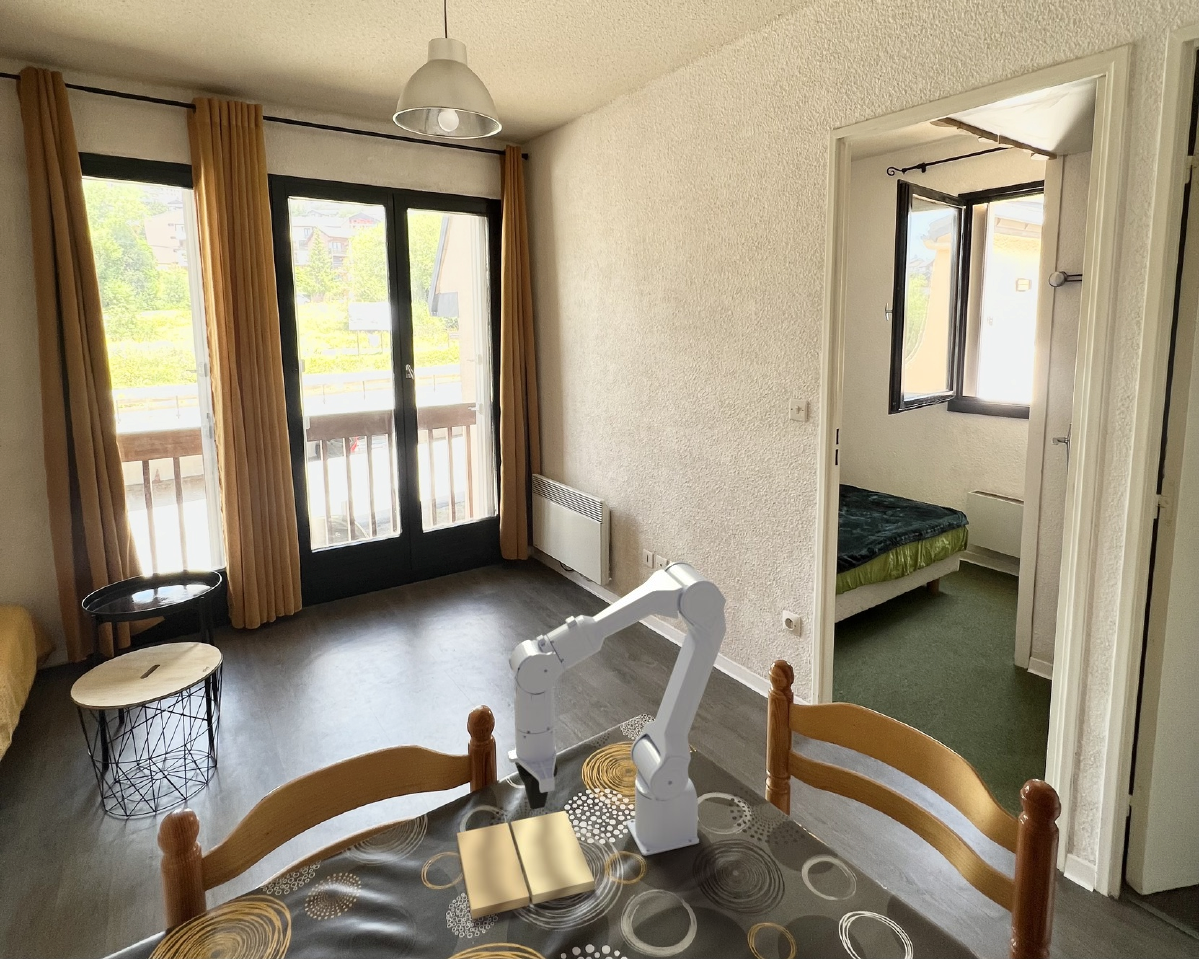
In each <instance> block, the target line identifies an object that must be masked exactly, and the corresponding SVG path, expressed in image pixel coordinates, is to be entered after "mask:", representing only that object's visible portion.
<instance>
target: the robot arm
mask: <svg viewBox="0 0 1199 959" xmlns="http://www.w3.org/2000/svg"><path fill="white" fill-rule="evenodd" d="M726 604H727V599H726V598H725V596H724V595H723V593H722V591H721V590H720V588H719V587H718V586H717V584H715V583H714V582H712V581H710V580H709V579H708V578H706V577H705V576H704V575H703V574H701V573H700V572H699V571H697V570H696V569H695V568H694V567H693V566H692V565H691V564H690V563H688V562H685V561H679V560H678V561H674V562H671V563H669V564H668V565H666V566H665V567H664V568H663V569H662V568H661V569H659V570H657V571H655V572H654V573H652V575H651V576H650V577H649V578H648V579H647V581H646V582H644V583H643V584H641V585H640V586H638V587H637V588H635V589H634V590H632V591H630V592H629V593H628V594H626V595H625V596H623V597H622V598H620V599H618V600H617V601H615V602H614V603H612V604H611V605H609V606H607V607H606V608H605V609H603V610H602V611H600V612H598V613H597V614H595V615H594V616H589V615H583V614H581V615H578V616H576V617H574V616H573V615H571V616H570V617H568V618H566V619H565V623H564V624H563V625H560V626H558V627H557V628H555V629H553V630H552V631H550V632H548V633H546V634H545V635H543V634H541V635H538V636H537V637H536V638H535V639H532V640H530V639H527V640H524V641H522V642H520V643H519V644H518V645H516V646H515V647H514V650H512V652H511V655H510V657H509V658H508V665H509V667H510V669H511V670H512V672H513V673H514V685H513V686H514V689H513V690H514V695H513V705H514V706H513V707H514V727H515V728H514V730H515V731H514V734H515V735H514V736H515V747H514V748H515V749H514V750H510V751H507V759H508V761H509V763H512V764H513V763H514V765H515V767H516V769H517V770H516V771H517V773H518V775H519V777H520V779H521V781H522V783H523V784H524V790H525V793H526V798H527V801H528V804H529V807H530V809H531V810H537V809H541V808H545V807H546V804H547V798H548V796H549V795H548V794H549V792H551V791H555V788H556V784H555V783H556V782H555V781H556V780H555V777H556V776H557V775H558V765H557V764H556V760H557V755H558V754H557V753H558V752H557V746H556V732H555V730H556V729H555V728H556V726H555V725H556V724H555V723H556V722H555V693H554V686H555V685H556V683H557V682H558V679H559V677H560V676H561V675H562V674H564V672H565V671H566V670H567V671H568V669H570V668H572V667H574V666H575V665H577V664H579V663H580V662H582V661H584V660H586V659H587V658H589V657H591V656H593V655H594V654H596V653H597V652H599V651H601V650H602V646H603V643H604V641H605V639H606V638H608V637H609V636H612V635H614V634H616V633H617V632H620V631H622V630H624V629H626V628H628V627H629V626H632V625H634V624H636V623H637V622H640V621H642V620H643V619H646V618H648V617H650V616H652V615H657V616H662V617H666V618H670V619H675V620H677V619H679V615H680V617H681V618H682V620H683V622H684V624H685V626H686V627H687V630H686V633H685V636H684V638H683V641H682V645H681V647H680V650H679V652H678V655H677V659H676V661H675V663H674V666H673V669H672V672H671V675H670V677H669V680H668V683H667V686H666V690H665V692H664V694H663V697H662V701H661V703H660V706H659V708H658V711H657V714H656V716H655V719H654V720H653V721H649V722H647V723H645V724H644V726H643V729H642V731H641V733H640V734H639V735H638V736H637V738H636V739H635V740H634V742H632V745H631V747H630V752H629V753H630V754H629V755H630V759H631V761H632V762H633V764H634V765H635V766H636V767H637V770H636V777H635V785H634V788H635V790H634V792H635V793H634V810H635V811H634V818H633V819H628V820H626V822H625V824H626V826H627V829H628V830H629V832H630V834H631V836H632V838H633V840H634V842H635V843H636V845H637V847H638V849H639V851H640V853H641V855H643V856H650V855H654V854H660V853H663V852H666V851H671V850H675V849H680V848H683V847H687V846H693V845H696V844H699V843H700V838H699V837H698V822H699V821H698V818H699V801H698V796H697V791H696V788H695V786H694V783H693V781H692V780H691V778H690V777H689V766H690V763H691V760H692V759H691V758H692V756H691V750H690V745H689V738H688V737H689V733H690V730H691V728H692V724H693V722H694V719H695V716H696V714H697V711H698V708H699V706H700V703H701V700H702V697H703V695H704V692H705V690H706V688H707V684H708V681H709V679H710V676H711V673H712V672H713V671H712V670H713V668H714V665H715V663H716V660H717V657H718V654H719V652H720V648H721V646H722V644H723V640H724V639H725V636H726V631H727V626H726V625H727V624H726V616H725V610H724V609H725V606H726Z"/></svg>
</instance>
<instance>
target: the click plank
mask: <svg viewBox="0 0 1199 959" xmlns="http://www.w3.org/2000/svg"><path fill="white" fill-rule="evenodd" d="M572 826H573V825H572V824H571V822H570V819H569V816H568V813H567V811H566V810H562V811H558V812H552V813H547V814H543V815H538V816H534V817H528V818H523V819H518V820H514V821H510V832H511V836H512V839H513V843H514V846H515V849H516V853H517V856H518V859H519V863H520V866H521V870H522V873H523V876H524V880H525V883H526V887H527V890H528V893H529V897H530V899H531V902H532V905H537V904H539V903H543V902H548V901H552V900H556V899H560V898H561V899H562V898H564V897H568V896H572V895H573V896H574V895H577V894H581V893H585V892H589V891H594V890H595V879H594V877H593V874H592V871H591V869H590V867H589V864H588V862H587V860H586V857H585V855H584V852H583V850H582V848H581V846H580V843H579V840H578V838H577V835H576V833H575V831H574V828H573V827H572Z"/></svg>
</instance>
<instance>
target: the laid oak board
mask: <svg viewBox="0 0 1199 959" xmlns="http://www.w3.org/2000/svg"><path fill="white" fill-rule="evenodd" d="M456 839H457V847H458V852H459V858H460V863H461V868H462V872H463V880H464V883H465V889H466V894H467V898H468V904H469V909H470V914H471V919H472V920H474V919H478V918H482V917H486V916H491V915H495V914H498V913H502V912H507V911H511V910H512V911H513V910H515V909H519V908H520V909H521V908H524V907H527V906H530V892H529V889H528V886H527V882H526V879H525V876H524V872H523V869H522V866H521V862H520V859H519V855H518V852H517V849H516V845H515V842H514V839H513V835H512V832H511V828H510V825H509V823H508V822H505V823H503V822H502V823H498V824H494V825H490V826H485V827H480V828H475V829H470V830H466V831H460V832H456Z"/></svg>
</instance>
